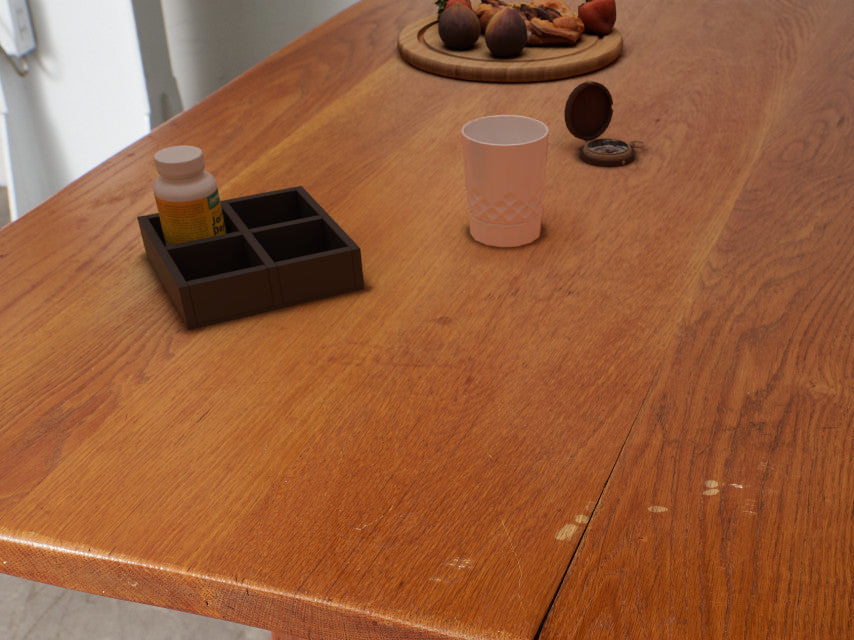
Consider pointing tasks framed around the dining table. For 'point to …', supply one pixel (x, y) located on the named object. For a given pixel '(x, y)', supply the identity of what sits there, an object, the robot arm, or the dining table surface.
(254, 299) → the holder
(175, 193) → the supplement bottle
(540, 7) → the wooden plate
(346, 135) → the dining table surface
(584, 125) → the compass
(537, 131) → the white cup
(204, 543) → the dining table surface
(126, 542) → the dining table surface
